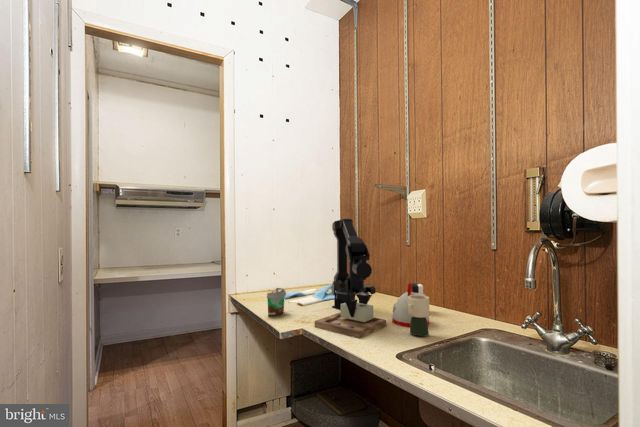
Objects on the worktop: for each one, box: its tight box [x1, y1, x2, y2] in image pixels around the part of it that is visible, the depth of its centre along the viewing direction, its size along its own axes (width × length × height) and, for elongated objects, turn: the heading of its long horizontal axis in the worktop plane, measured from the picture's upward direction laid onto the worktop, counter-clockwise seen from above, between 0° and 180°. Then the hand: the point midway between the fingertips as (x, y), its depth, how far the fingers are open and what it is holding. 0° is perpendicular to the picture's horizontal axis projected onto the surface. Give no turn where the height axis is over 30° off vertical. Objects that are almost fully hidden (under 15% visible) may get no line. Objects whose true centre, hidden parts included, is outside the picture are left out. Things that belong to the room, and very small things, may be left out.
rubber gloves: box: [285, 284, 335, 307], centre depth 180 cm, size 27×33×6 cm
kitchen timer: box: [391, 282, 430, 329], centre depth 132 cm, size 14×14×15 cm
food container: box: [266, 287, 287, 318], centre depth 146 cm, size 12×6×10 cm, turn 168°
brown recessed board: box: [314, 311, 387, 339], centre depth 128 cm, size 18×20×2 cm
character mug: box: [408, 295, 430, 337], centre depth 117 cm, size 11×7×13 cm, turn 127°
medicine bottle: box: [411, 283, 426, 296], centre depth 148 cm, size 7×7×12 cm
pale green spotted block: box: [340, 302, 374, 322], centre depth 131 cm, size 6×11×5 cm, turn 49°
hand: (356, 315), depth 131 cm, fingers closed on pale green spotted block, 6 cm apart
